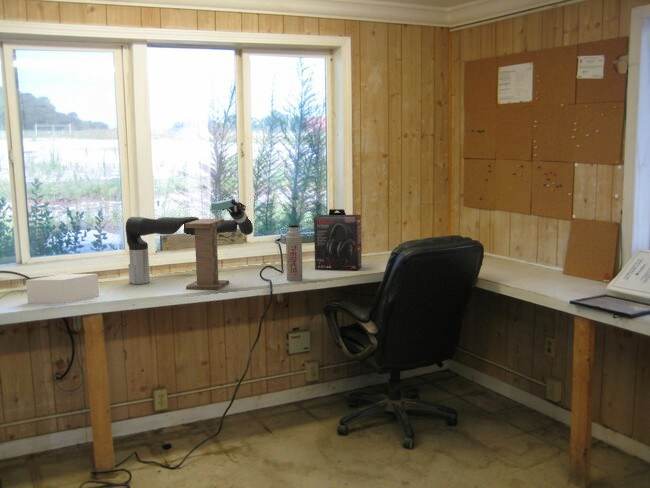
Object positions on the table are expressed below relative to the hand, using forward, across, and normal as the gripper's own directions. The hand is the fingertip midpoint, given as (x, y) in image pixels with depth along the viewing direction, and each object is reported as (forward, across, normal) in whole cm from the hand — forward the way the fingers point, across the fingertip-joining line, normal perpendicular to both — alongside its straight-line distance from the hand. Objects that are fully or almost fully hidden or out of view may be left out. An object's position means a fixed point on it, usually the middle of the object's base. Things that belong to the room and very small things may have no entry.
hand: (228, 200), depth 347 cm
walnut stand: (+8, 0, -50) cm, 51 cm away
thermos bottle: (-9, -38, -40) cm, 56 cm away
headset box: (-39, -55, -23) cm, 71 cm away
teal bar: (+5, 0, -7) cm, 8 cm away
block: (+39, +55, -69) cm, 97 cm away
